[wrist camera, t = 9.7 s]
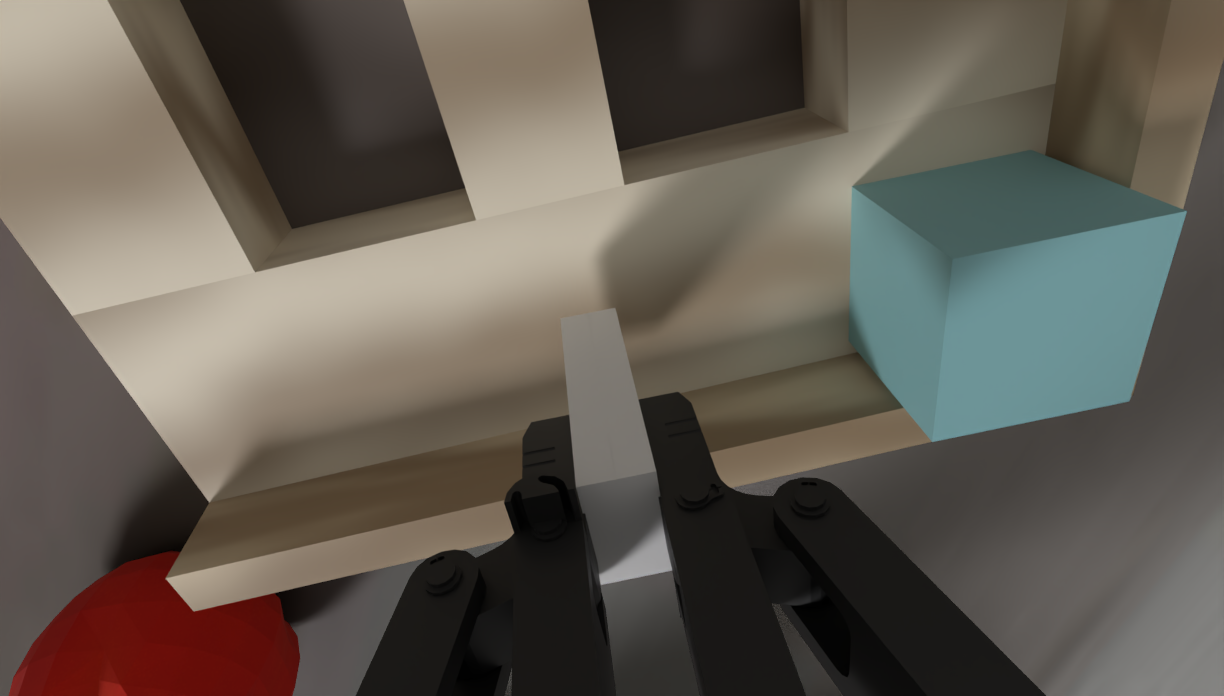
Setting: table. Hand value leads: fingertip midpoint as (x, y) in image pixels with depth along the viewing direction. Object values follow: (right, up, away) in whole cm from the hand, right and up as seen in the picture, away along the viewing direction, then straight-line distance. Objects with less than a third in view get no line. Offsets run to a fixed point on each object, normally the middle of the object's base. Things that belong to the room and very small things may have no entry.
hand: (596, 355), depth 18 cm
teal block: (+10, +3, +1) cm, 10 cm away
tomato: (-17, -10, +10) cm, 23 cm away
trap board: (-1, +6, +2) cm, 6 cm away
